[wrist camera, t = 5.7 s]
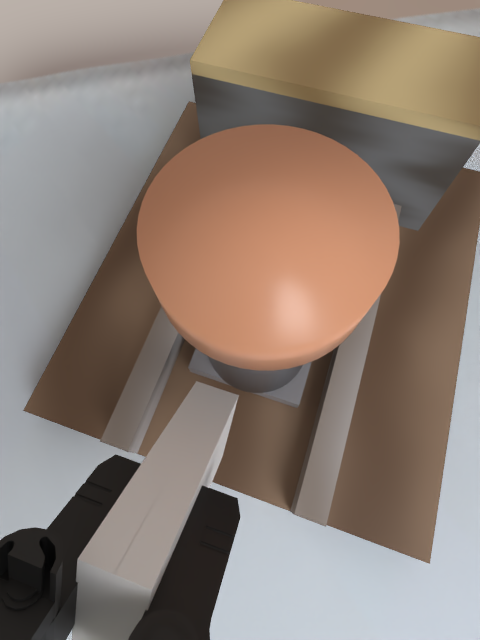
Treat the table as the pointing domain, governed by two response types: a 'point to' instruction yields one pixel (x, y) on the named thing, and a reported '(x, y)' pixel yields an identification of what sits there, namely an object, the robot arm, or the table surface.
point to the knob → (266, 252)
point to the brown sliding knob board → (379, 322)
